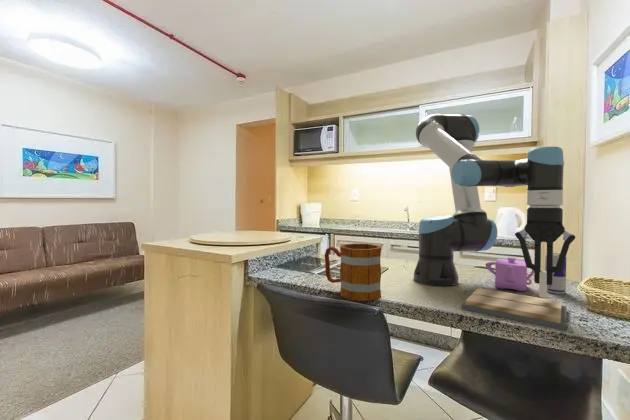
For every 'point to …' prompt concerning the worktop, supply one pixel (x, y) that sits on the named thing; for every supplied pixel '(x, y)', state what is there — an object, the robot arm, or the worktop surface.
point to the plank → (519, 298)
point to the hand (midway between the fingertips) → (543, 296)
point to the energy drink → (557, 277)
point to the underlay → (520, 318)
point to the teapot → (510, 274)
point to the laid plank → (515, 308)
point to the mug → (357, 271)
